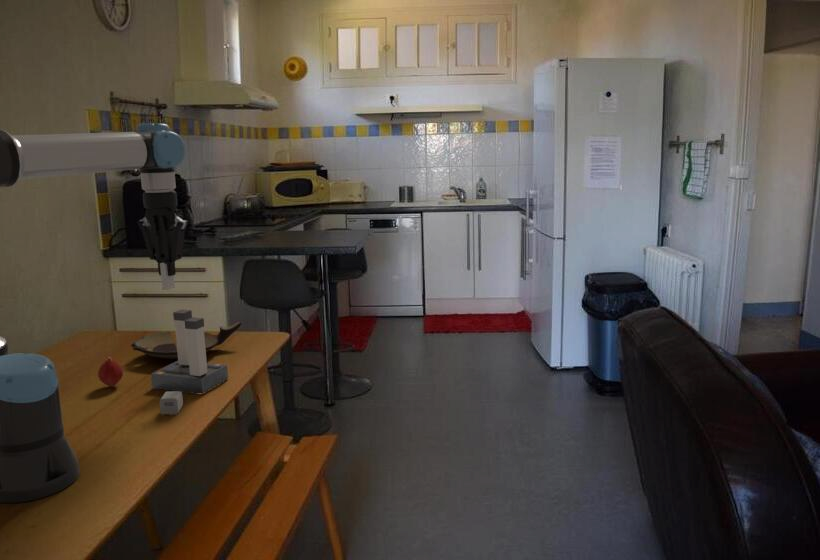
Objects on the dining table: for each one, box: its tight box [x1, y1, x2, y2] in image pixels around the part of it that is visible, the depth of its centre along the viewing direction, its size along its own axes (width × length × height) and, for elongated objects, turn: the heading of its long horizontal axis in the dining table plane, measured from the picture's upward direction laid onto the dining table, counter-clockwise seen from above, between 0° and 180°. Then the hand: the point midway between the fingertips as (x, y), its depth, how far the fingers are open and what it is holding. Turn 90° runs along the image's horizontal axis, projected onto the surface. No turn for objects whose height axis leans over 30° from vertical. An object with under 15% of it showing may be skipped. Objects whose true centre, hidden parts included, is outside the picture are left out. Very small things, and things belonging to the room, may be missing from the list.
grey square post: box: [185, 316, 208, 376], centre depth 167 cm, size 3×3×14 cm
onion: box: [97, 356, 124, 388], centre depth 171 cm, size 6×6×8 cm
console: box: [150, 360, 229, 395], centre depth 173 cm, size 11×15×4 cm
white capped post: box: [172, 309, 193, 365], centre depth 175 cm, size 3×3×14 cm
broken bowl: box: [130, 321, 242, 360], centre depth 196 cm, size 22×30×8 cm
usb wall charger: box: [159, 391, 184, 416], centre depth 157 cm, size 4×7×4 cm, turn 6°
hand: (168, 288), depth 163 cm, fingers closed
